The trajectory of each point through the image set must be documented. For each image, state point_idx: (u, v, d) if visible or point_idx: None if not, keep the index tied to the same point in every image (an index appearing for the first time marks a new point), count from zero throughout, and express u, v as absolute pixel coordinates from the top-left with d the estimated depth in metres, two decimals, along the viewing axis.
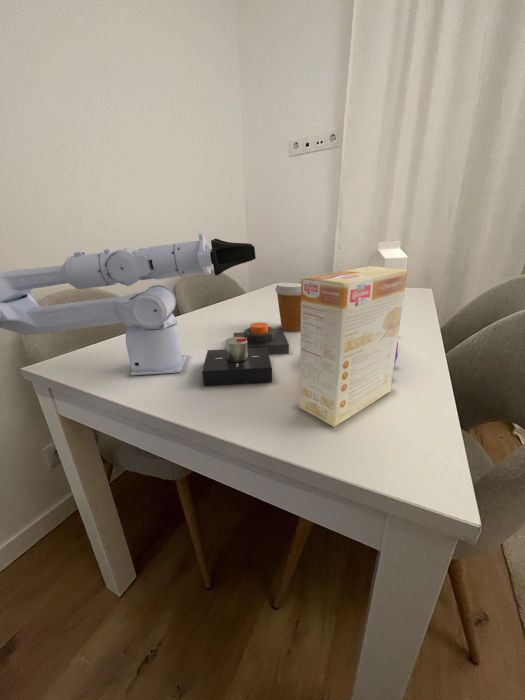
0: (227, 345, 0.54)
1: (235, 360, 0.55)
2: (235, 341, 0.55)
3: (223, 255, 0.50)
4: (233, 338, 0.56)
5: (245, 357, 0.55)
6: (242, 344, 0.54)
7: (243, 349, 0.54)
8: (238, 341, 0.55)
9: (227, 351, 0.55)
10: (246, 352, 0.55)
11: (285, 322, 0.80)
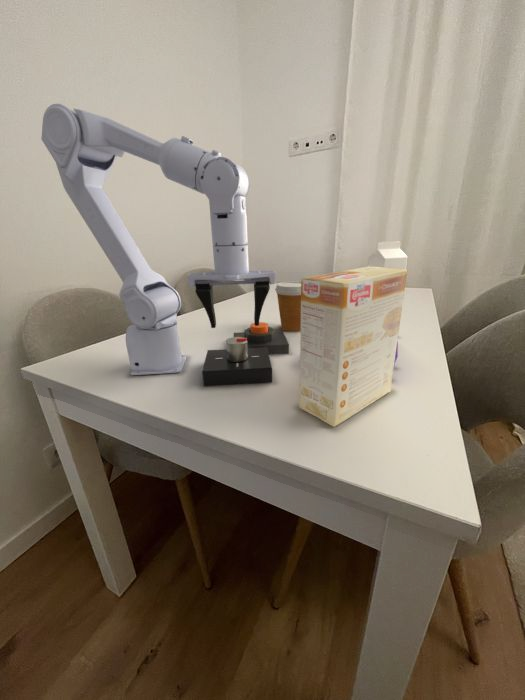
0: (227, 345, 0.54)
1: (235, 360, 0.55)
2: (235, 341, 0.55)
3: None
4: (233, 338, 0.56)
5: (245, 357, 0.55)
6: (242, 344, 0.54)
7: (243, 349, 0.54)
8: (238, 341, 0.55)
9: (227, 351, 0.55)
10: (246, 352, 0.55)
11: (285, 322, 0.80)
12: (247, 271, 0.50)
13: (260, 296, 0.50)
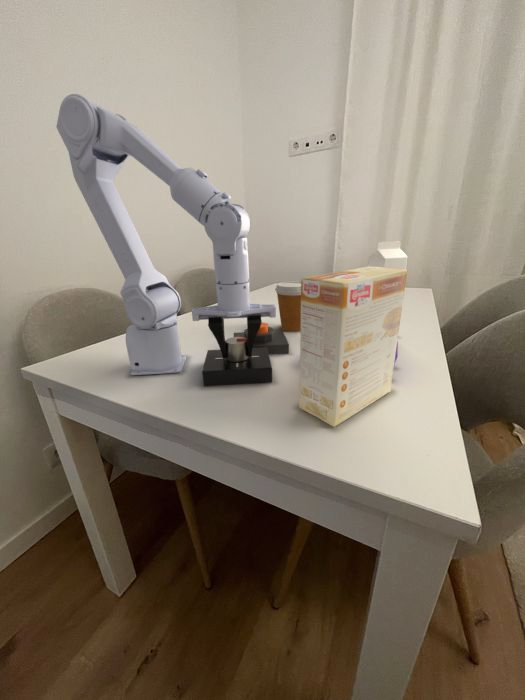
0: (227, 345, 0.54)
1: (235, 360, 0.55)
2: (235, 341, 0.55)
3: None
4: (233, 338, 0.56)
5: (245, 357, 0.55)
6: (242, 344, 0.54)
7: (243, 349, 0.54)
8: (238, 341, 0.55)
9: (227, 351, 0.55)
10: (246, 352, 0.55)
11: (285, 322, 0.80)
12: (248, 306, 0.52)
13: (252, 330, 0.53)
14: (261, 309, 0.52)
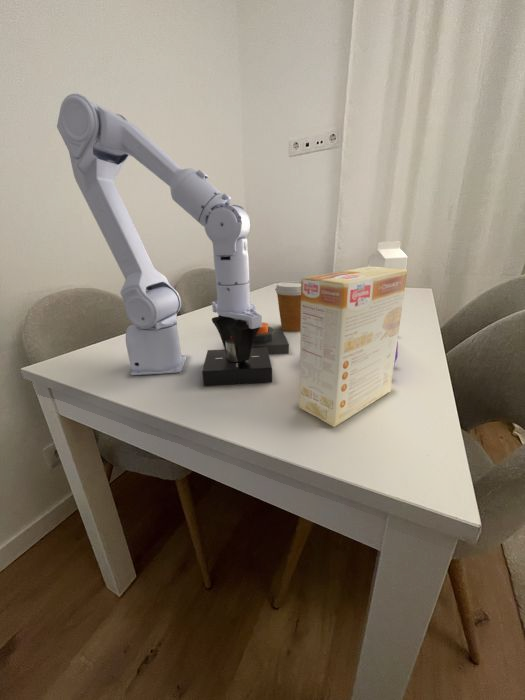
0: None
1: None
2: None
3: (244, 332, 0.52)
4: (232, 342, 0.54)
5: None
6: None
7: None
8: None
9: None
10: None
11: (285, 322, 0.80)
12: None
13: None
14: None
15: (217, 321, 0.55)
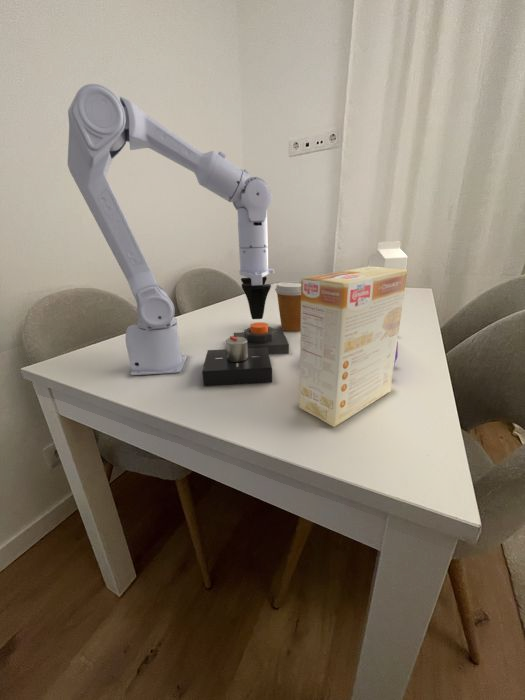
0: (246, 343, 0.55)
1: None
2: (239, 339, 0.55)
3: (257, 293, 0.59)
4: (232, 342, 0.54)
5: None
6: None
7: None
8: (238, 338, 0.56)
9: (246, 350, 0.55)
10: None
11: (285, 322, 0.80)
12: None
13: (263, 284, 0.67)
14: None
15: (242, 280, 0.66)
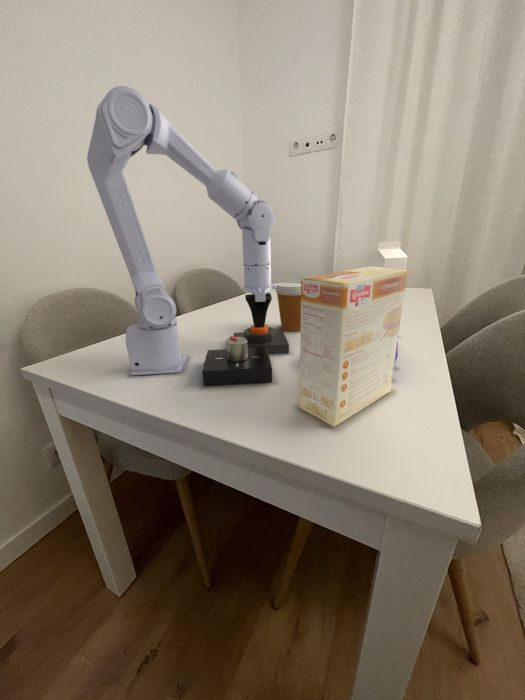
0: (246, 343, 0.55)
1: None
2: (239, 339, 0.55)
3: (259, 304, 0.66)
4: (232, 342, 0.54)
5: None
6: None
7: None
8: (238, 338, 0.56)
9: (246, 350, 0.55)
10: None
11: (285, 322, 0.80)
12: None
13: None
14: None
15: None
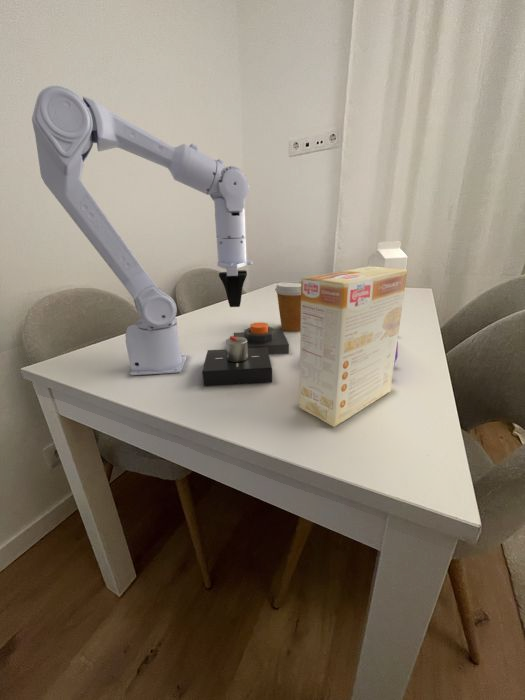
0: (246, 343, 0.55)
1: None
2: (239, 339, 0.55)
3: (234, 281, 0.62)
4: (232, 342, 0.54)
5: None
6: None
7: None
8: (238, 338, 0.56)
9: (246, 350, 0.55)
10: None
11: (285, 322, 0.80)
12: None
13: None
14: None
15: None
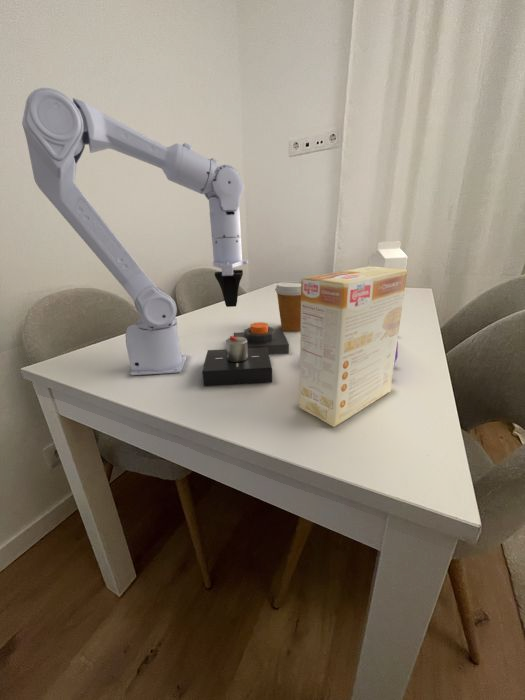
0: (246, 343, 0.55)
1: None
2: (239, 339, 0.55)
3: (230, 281, 0.61)
4: (232, 342, 0.54)
5: None
6: None
7: None
8: (238, 338, 0.56)
9: (246, 350, 0.55)
10: None
11: (285, 322, 0.80)
12: None
13: None
14: None
15: None
